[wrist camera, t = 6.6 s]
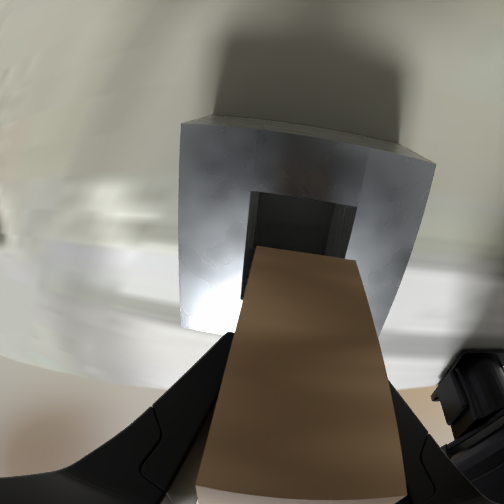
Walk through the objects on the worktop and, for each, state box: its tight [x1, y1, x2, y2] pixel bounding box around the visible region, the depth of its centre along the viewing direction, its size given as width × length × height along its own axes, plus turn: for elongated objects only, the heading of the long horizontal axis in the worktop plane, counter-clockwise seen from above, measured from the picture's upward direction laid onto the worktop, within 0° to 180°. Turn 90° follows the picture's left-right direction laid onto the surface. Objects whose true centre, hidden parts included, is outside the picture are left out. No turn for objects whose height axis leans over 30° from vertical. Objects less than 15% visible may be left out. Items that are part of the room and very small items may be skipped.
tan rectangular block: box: [195, 246, 407, 504], centre depth 7 cm, size 3×4×7 cm
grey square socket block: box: [178, 115, 436, 336], centre depth 15 cm, size 10×10×5 cm
